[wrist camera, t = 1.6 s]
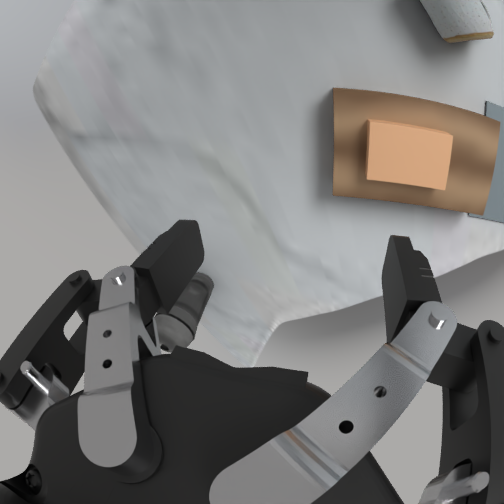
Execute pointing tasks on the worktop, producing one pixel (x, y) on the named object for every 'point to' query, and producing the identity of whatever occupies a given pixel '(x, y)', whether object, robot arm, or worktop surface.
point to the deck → (424, 115)
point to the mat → (496, 171)
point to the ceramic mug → (459, 19)
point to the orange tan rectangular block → (407, 154)
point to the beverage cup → (184, 314)
